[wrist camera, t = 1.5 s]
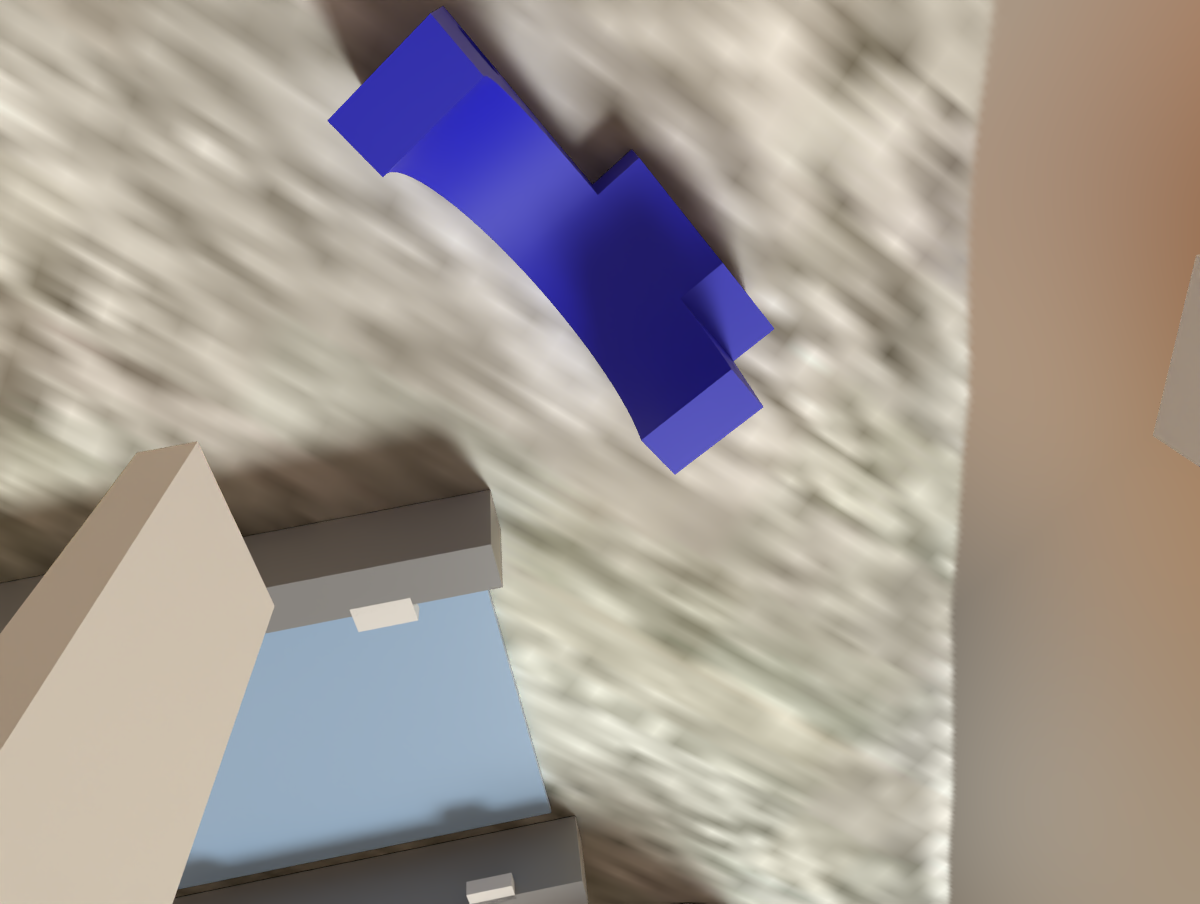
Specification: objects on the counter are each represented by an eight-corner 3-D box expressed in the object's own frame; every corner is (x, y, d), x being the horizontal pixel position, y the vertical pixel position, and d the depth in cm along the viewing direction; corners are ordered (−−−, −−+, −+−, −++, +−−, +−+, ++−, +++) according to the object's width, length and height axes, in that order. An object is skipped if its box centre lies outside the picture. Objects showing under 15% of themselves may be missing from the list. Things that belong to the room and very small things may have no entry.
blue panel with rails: (-84, 599, 28) (-146, 667, 25) (490, 489, 28) (491, 544, 26) (168, 923, 38) (144, 996, 35) (581, 838, 39) (588, 903, 36)
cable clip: (745, 294, 26) (810, 371, 21) (638, 381, 27) (674, 474, 22) (485, -38, 21) (485, -45, 15) (364, 88, 22) (327, 120, 17)
